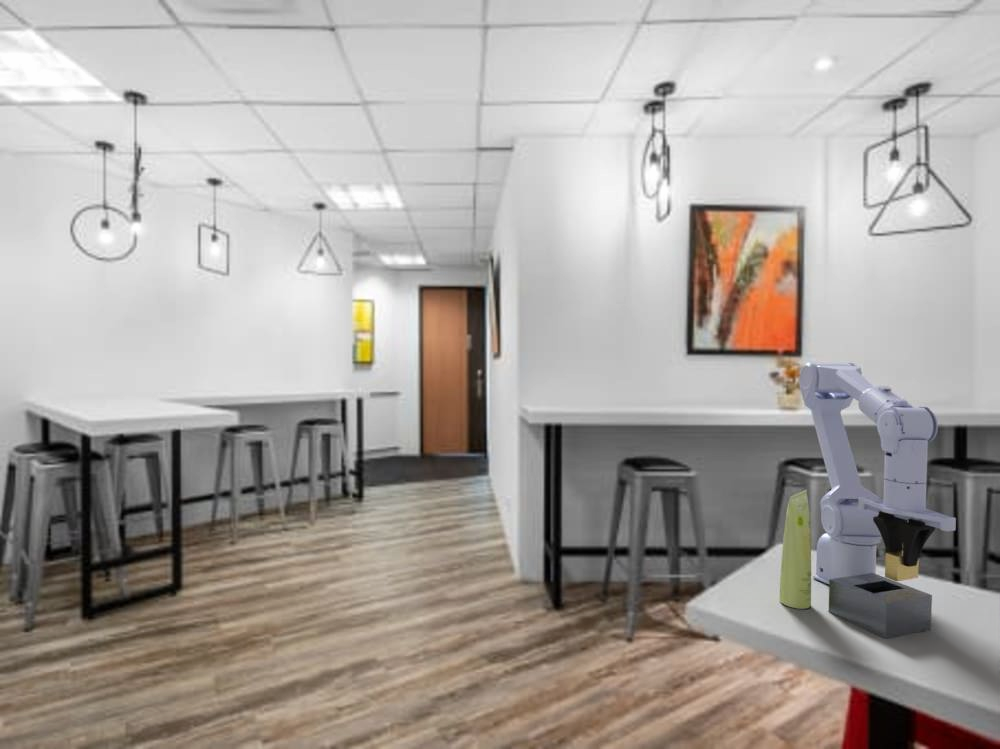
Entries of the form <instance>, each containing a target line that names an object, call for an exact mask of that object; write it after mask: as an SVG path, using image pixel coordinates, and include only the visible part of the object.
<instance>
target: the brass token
mask: <svg viewBox="0 0 1000 749" xmlns="http://www.w3.org/2000/svg"><path fill="white" fill-rule="evenodd" d="M884 562H885V565H884V577H885V578H888V579H890V580H893V581H896V582H901V581H907V580H912V579H918V578H919V564H920V557H919V558H918V562H917V565H916V566H910V567H907V566H904V560H903V549H902V550H901V551H895V552H888V553H887V552H885V561H884Z"/></svg>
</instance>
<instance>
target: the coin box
mask: <svg viewBox="0 0 1000 749" xmlns="http://www.w3.org/2000/svg"><path fill="white" fill-rule="evenodd" d="M932 605H933V595H932V594H930V593H928V592H926V591H922V590H919V589H917V588H914V587H911V586H909V585H906V584H903V583H900V582H899V581H895V580H892V579H889V578H886V577H885V576H882V575H879V574H874V573H868V574H862V575H855V576H848V577H841V578H834V579H829V584H828V612H829V613H831V614H833V615H836V616H838V617H840V618H842V619H844V620H846V621H848V622H849V623H850V622H851V623H852V624H854V625H856V626H858V627H860V628H862V629H864V630H867V631H869V632H871V633H873V634H875V635H877V636H879V637H882V638H884V639H889V638H894V637H895V638H896V637H900V636H905V635H910V634H914V633H920V632H925V631H931V630H932V612H933V611H932Z"/></svg>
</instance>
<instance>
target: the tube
mask: <svg viewBox="0 0 1000 749" xmlns="http://www.w3.org/2000/svg"><path fill="white" fill-rule="evenodd" d="M810 518H811V517H810V506H809V499H808V491H807V489H805V490H803V491H800V492H798V493H796V494H793V495H791V496H789V500H788V503H787V508H786V515H785V523H784V532H783V539H782V550H781V551H782V552H781V565H780V582H779V602H780V603H781V604H782V605H785V606H786V607H790V608H793V609H799V610H802V609H803V610H806V609H808V608H810V607H811V606H812V542H811V522H810Z"/></svg>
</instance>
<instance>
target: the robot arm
mask: <svg viewBox="0 0 1000 749" xmlns="http://www.w3.org/2000/svg"><path fill="white" fill-rule="evenodd" d="M798 386H799V389H800V394H801V396H802V400H803V403H804V406H805V407H806V408H808V409H809V410H810V411H811V416H812V420H813V423H814V428H815V433H816V436H817V439H818V442H819V446H820V451H821V455H822V458H823V462H824V465H825V469H826V473H827V477H828V480H829V483H830V484H829V485H830V488H831V490H829V491H828V492H827V493H826V494H825V495H824V496H822V498H821V500H820V502H819V505H820V512H821V515H820V520H821V525H822V529H823V530H824V531H825V532H824V533H823V534H822V535H821V536H820V537H819V539H818V541H817V545H816V564H815V566H816V568H815V571H816V572H815V574H813V575H812V578H813V579H814V580H818V581H820V582H822V583H824V584H827V585H829V579H834V578H841V577H848V576H855V575H862V574H868V573H874V574H876V573H877V572H876V570H877V544H881V543H882V542H881V541H883V543H884V547H885V551H886V553H888V552H895V551H901V550H903V560H904V566H907V567H910V566H916V565H917V562H918V558H919V559H920V556H921V553H922V550H923V548H924V546H925V544H926V543H927V541H928V539H929V538H930V537H931V536H932V534H933V533H934V532H935V530H936V529H940V531H943V532H954V531H956V529H957V528H956V527H957V526H956V524H957V522H956V521H957V518H956V517H952V516H949V515H947V514H946V515H945V514H943V513H940V512H936V511H935V510H931V509H929V508H926V507H927V482H928V481H927V478H928V476H927V475H928V446H929V445H928V444H929V443H930V442H932V441H933V440H934V439H935V438H936V437H937V434H938V426H939V425H938V423H939V422H938V418H937V417H936V414H935V413H934V412H933V410H931V409H930V408H929V407H928V406H918V407H916V406H913V405H912V404H910V403H908V401H907V400H906V399H905V398H901V397H900V396H899V395H897V394H895V393H894V392H893V391H892V388H891V387H889V385H879V386H874V385H873V384H872V383H870V382H869V381H868V380H867V379H866V378H865V377H864V376H863V373H862V368H861V367H860V366H858V365H857V364H855V363H854V362H847V363H834V362H833V363H832V362H831V363H830V362H829V363H827V362H823V363H821V362H811V361H810V362H808V361H807V362H805V364H804V365H803V366H802V367H801V369H800V373H799V378H798ZM853 400H856V401H857V403H858V409H859V410H860V412H861V413H862V414H864V415H865V416H866V417H867V418H869V419H870V420H871V421H872V422H873V423H874V424H876V428H877V432H878V435H879V438H880V447H881V450H882V451H883V452H884V462H883V463H884V465H883V467H884V469H883V495H882V496H883V499H879V497H878V495H877V494H875V493H873V492H872V491H871V490H868V488H866V487H865V486H863V485H862V482H861V478H860V475H859V472H858V468H857V465H856V461H855V459H854V455H853V451H852V449H851V444H850V441H849V438H848V435H847V434H848V433H847V430H846V427H845V425H844V424H845V423H844V420H843V417H842V411H843V410H846V409H847V408H849V407H851V404H852V402H853Z"/></svg>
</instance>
